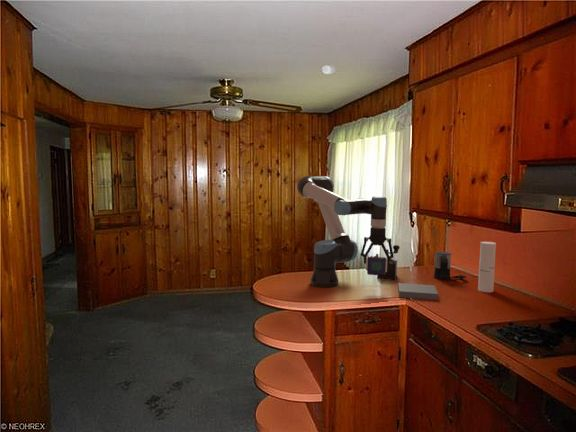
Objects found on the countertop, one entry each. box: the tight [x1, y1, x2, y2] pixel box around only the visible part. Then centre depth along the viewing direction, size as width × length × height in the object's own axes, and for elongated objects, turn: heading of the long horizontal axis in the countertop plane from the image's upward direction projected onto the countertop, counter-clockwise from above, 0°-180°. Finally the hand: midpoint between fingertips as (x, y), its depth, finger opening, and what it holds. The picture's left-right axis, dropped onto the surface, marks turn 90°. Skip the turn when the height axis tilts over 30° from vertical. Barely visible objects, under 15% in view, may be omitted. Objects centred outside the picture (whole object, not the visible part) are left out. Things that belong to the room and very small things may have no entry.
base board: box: [397, 282, 439, 301], centre depth 203 cm, size 18×15×3 cm
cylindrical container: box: [477, 241, 497, 293], centre depth 208 cm, size 7×7×25 cm
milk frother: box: [433, 251, 467, 281], centre depth 232 cm, size 14×16×15 cm
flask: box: [366, 253, 387, 276], centre depth 207 cm, size 9×3×11 cm, turn 88°
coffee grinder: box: [376, 244, 401, 281], centre depth 237 cm, size 16×11×18 cm
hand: (376, 270), depth 207 cm, fingers closed on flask, 9 cm apart
